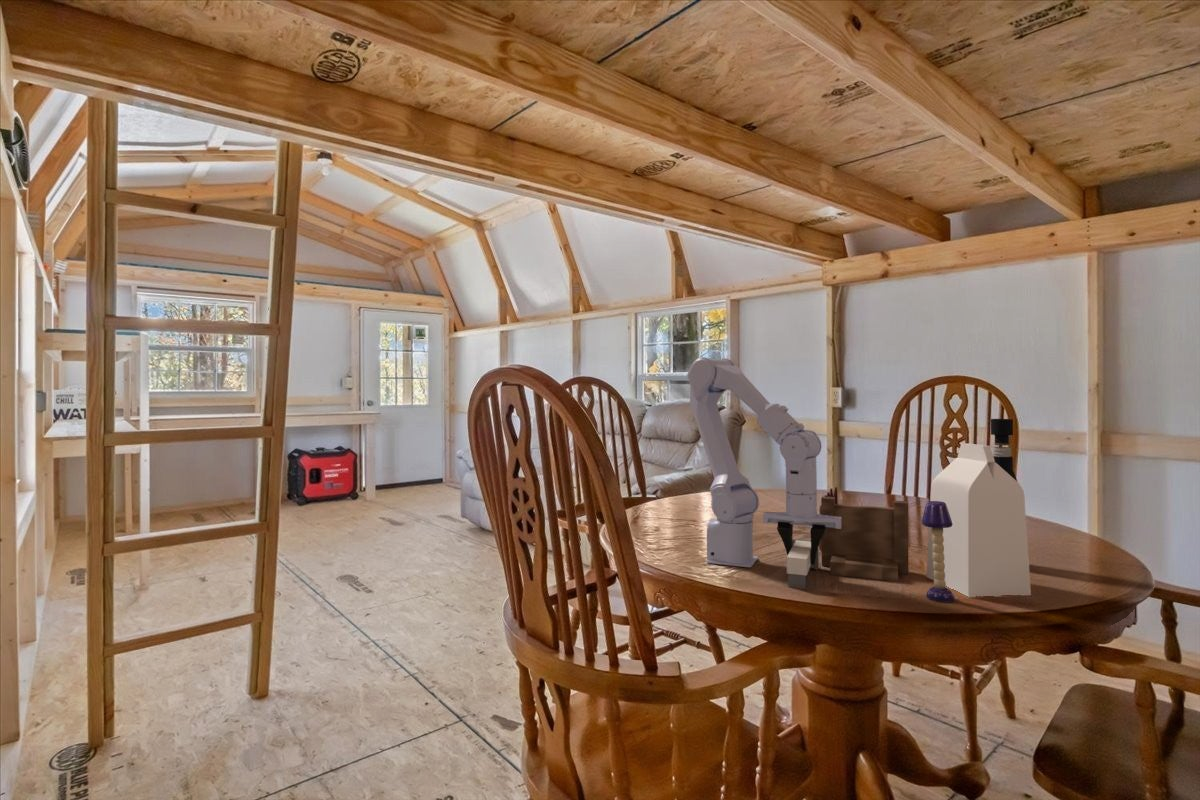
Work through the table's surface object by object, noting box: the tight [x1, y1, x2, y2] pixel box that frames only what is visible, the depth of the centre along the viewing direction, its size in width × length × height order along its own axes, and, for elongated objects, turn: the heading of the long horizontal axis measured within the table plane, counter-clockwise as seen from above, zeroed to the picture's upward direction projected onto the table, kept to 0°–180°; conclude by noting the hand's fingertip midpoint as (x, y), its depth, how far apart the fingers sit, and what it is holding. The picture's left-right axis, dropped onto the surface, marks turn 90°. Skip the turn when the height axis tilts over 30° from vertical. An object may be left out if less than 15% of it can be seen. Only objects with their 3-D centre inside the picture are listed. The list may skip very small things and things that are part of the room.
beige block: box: [786, 538, 819, 590], centre depth 118 cm, size 5×15×6 cm, turn 155°
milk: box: [925, 442, 1032, 598], centre depth 112 cm, size 12×12×26 cm
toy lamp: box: [921, 501, 955, 603], centre depth 105 cm, size 5×5×17 cm
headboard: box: [820, 496, 909, 582], centre depth 120 cm, size 16×8×14 cm, turn 65°
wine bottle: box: [990, 418, 1018, 482], centre depth 125 cm, size 6×6×30 cm
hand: (801, 562), depth 119 cm, fingers closed on beige block, 3 cm apart
